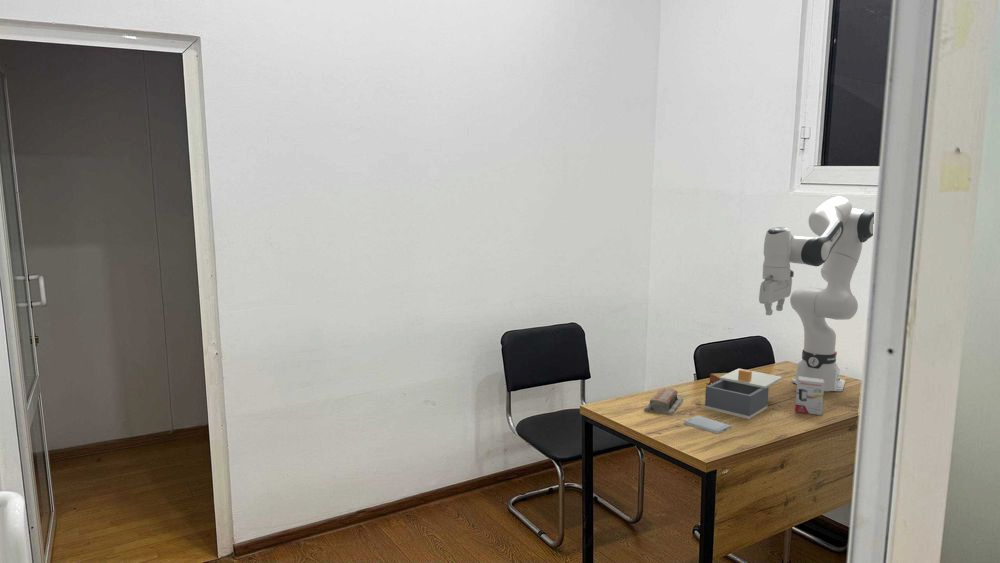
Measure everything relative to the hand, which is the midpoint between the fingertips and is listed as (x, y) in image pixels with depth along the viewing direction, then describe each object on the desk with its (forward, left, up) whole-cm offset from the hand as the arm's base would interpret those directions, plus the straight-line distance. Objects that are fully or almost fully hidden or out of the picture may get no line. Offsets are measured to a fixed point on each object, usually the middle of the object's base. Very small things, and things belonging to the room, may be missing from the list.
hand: (774, 312), depth 239 cm
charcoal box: (+12, -7, -34) cm, 36 cm away
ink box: (-2, +13, -34) cm, 37 cm away
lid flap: (0, -7, -26) cm, 27 cm away
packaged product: (+27, -27, -35) cm, 51 cm away
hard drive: (+36, -6, -35) cm, 50 cm away
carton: (-10, -19, -34) cm, 41 cm away
